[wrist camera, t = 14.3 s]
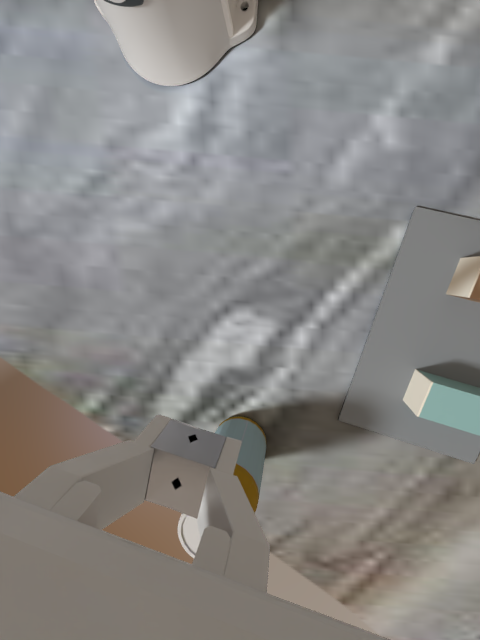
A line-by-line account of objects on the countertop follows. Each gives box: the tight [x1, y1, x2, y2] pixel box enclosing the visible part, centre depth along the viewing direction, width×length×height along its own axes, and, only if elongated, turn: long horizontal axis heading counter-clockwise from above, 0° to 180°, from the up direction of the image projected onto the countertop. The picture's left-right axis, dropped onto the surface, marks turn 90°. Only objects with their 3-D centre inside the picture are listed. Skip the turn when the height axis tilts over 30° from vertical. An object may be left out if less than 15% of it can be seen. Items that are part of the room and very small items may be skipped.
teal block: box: [403, 369, 480, 436], centre depth 31 cm, size 4×4×10 cm
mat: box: [338, 207, 480, 464], centre depth 32 cm, size 26×16×1 cm, turn 165°
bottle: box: [178, 416, 267, 558], centre depth 32 cm, size 7×7×15 cm
